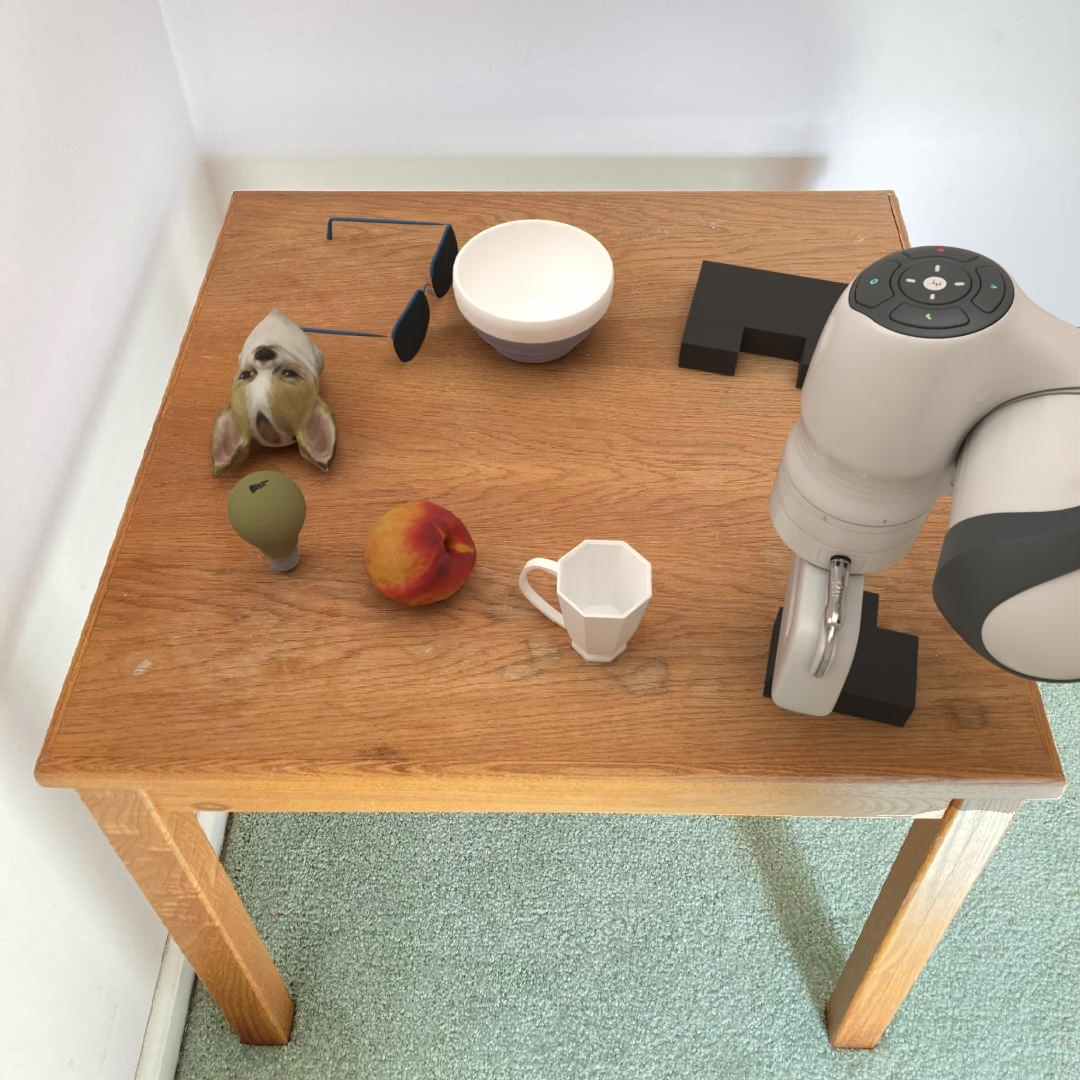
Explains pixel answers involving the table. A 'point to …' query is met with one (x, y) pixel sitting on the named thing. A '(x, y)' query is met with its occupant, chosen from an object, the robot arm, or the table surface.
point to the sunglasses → (417, 312)
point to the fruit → (419, 553)
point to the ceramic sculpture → (275, 398)
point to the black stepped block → (871, 670)
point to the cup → (596, 595)
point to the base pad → (755, 317)
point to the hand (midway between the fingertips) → (798, 622)
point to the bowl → (533, 287)
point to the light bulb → (269, 516)
